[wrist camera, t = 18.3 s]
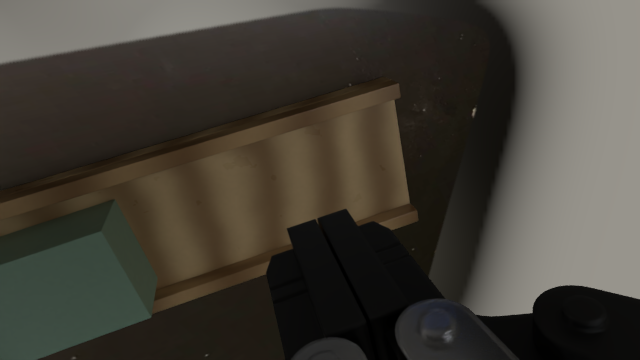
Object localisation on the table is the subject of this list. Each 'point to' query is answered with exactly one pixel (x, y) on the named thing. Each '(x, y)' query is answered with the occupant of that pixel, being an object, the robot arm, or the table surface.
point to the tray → (239, 188)
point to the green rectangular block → (71, 282)
